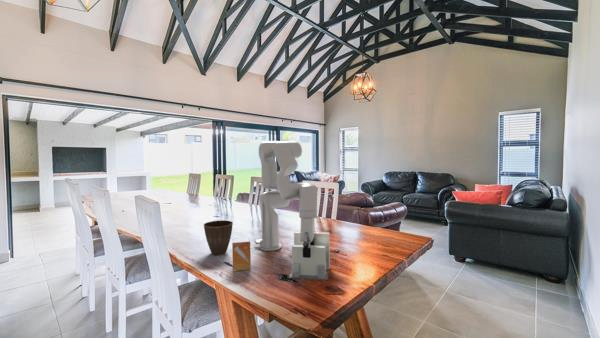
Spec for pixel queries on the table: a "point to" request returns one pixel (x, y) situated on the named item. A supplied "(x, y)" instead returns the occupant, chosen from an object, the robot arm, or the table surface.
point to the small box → (241, 254)
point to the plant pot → (218, 235)
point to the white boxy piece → (319, 240)
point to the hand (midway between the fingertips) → (308, 253)
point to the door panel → (309, 259)
